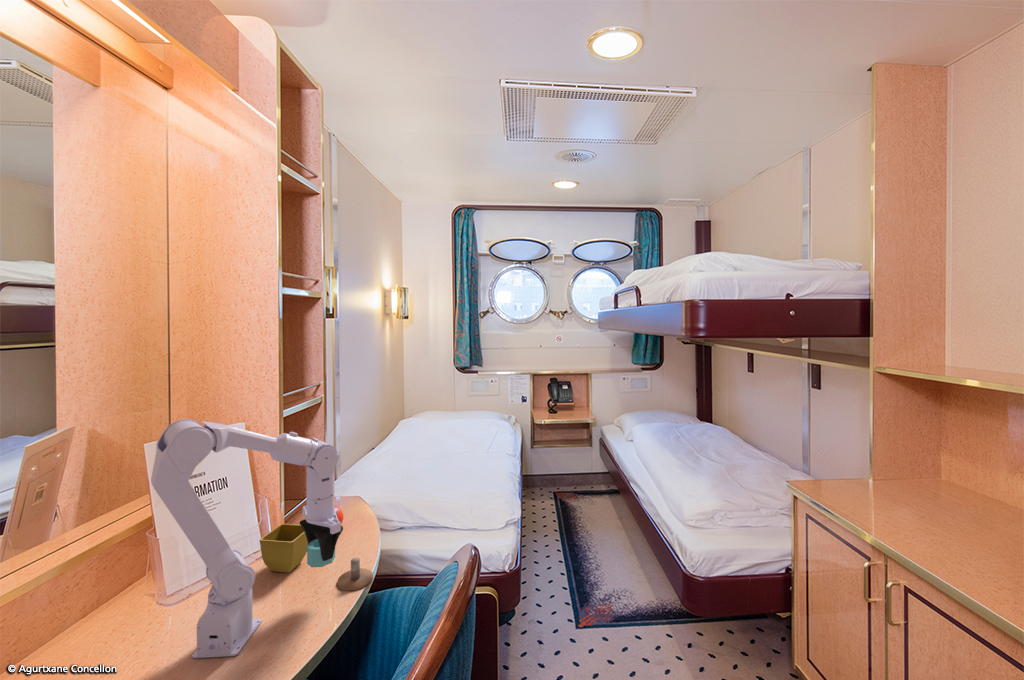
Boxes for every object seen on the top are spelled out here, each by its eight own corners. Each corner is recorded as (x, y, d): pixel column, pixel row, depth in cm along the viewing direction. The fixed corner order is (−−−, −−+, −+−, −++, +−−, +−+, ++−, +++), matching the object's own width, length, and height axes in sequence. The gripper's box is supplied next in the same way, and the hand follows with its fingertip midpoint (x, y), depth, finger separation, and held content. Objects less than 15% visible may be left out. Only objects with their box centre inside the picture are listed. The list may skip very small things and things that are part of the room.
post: (368, 590, 97) (367, 568, 97) (332, 591, 97) (332, 570, 97) (376, 570, 105) (376, 550, 105) (343, 571, 105) (343, 551, 104)
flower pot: (313, 558, 110) (312, 525, 110) (292, 578, 102) (292, 541, 101) (281, 556, 111) (281, 523, 111) (258, 576, 103) (258, 539, 102)
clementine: (325, 539, 121) (325, 514, 120) (310, 533, 124) (310, 509, 124) (348, 527, 127) (348, 504, 127) (333, 522, 131) (333, 499, 131)
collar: (329, 566, 93) (329, 548, 93) (304, 567, 92) (304, 549, 92) (337, 553, 98) (337, 536, 98) (313, 554, 98) (313, 537, 98)
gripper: (353, 498, 93) (354, 558, 93) (323, 482, 102) (323, 536, 103) (322, 508, 88) (322, 572, 88) (293, 490, 97) (293, 548, 98)
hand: (321, 554), depth 95 cm, fingers closed on collar, 5 cm apart
